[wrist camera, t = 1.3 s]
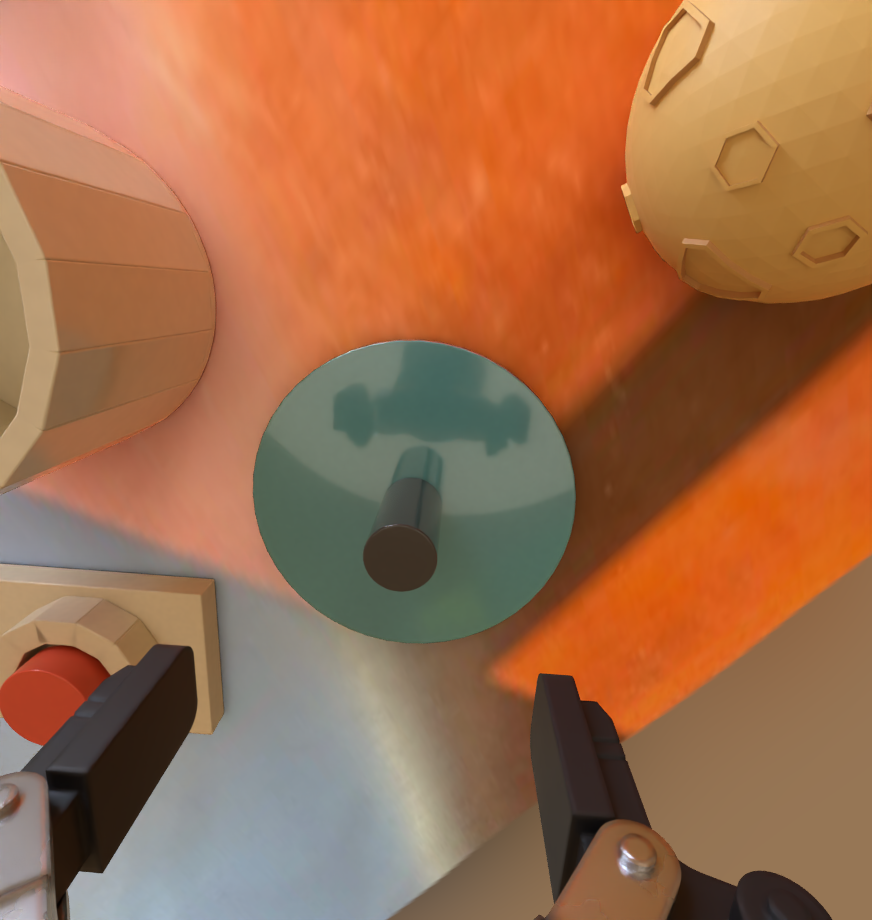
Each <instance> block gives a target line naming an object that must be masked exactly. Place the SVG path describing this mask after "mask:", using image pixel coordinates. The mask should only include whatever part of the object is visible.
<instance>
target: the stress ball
mask: <svg viewBox="0 0 872 920" xmlns="http://www.w3.org/2000/svg"><path fill="white" fill-rule="evenodd" d="M625 163H626V177H627V183H626V184H624V185H622V186H621V189H622V193H623V196H624V199H625V202H626V205H627V208H628V211H629V214H630V217H631V220H632V223H633V226H634V229H635V231H636V233H639V232H641V231H643V232H644V233H645V235H646V237H647V238H648V240H649V241H650V243H651V244H652V246H653V248H654V250H655V251H656V252H657V253H658V255H659V256H660V257H661V258H662V260H663V261H665V262H666V263H668V264H669V265H670V266H671V267H673V268H674V269H675V270H676V271H677V274H678V277H679V279H681V280H682V281H684V282H685V283H687V284H688V285H690V286H691V287H693V288H695V289H696V290H698V291H700V292H703V293H706V294H709V295H712V296H715V297H719V298H726V299H733V300H746V301H753V302H761V303H795V302H803V301H812V300H819V299H823V298H827V297H831V296H835V295H839V294H843V293H846V292H849V291H852V290H855V289H858V288H861V287H864V286H867V285H870V284H872V0H683V2H682V3H681V5H680V6H679V8H678V9H677V11H676V12H675V14H674V15H673V16H672V18H671V19H670V20H669V21H668V23H667V24H666V25H665V26H664V27H663V29H662V32H661V34H660V36H659V39H658V41H657V43H656V44H655V46H654V48H653V50H652V51H651V54H650V56H649V58H648V61H647V63H646V65H645V68H644V70H643V72H642V75H641V77H640V79H639V82H638V86H637V89H636V92H635V95H634V99H633V102H632V107H631V112H630V116H629V121H628V126H627V135H626V148H625Z"/></svg>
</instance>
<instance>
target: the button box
mask: <svg viewBox="0 0 872 920" xmlns="http://www.w3.org/2000/svg"><path fill="white" fill-rule="evenodd" d="M156 644H168V645H181V646H190V647H191V648H192V649H193V652H194V662H195V674H196V686H197V698H198V705H197V712H196V717H195V720H194V723H193V726H192V728H191V730H190V732H189V733H198V734H210V735H211V734H213V732H214V730H215V728H216V727H217V725H218V723H219V721H220V720H221V718H222V716H223V714H224V707H223V693H222V679H221V665H220V651H219V638H218V624H217V610H216V596H215V582H214V579H203V578H190V577H176V576H162V575H148V574H135V573H121V572H107V571H94V570H80V569H66V568H53V567H39V566H25V565H12V564H0V689H1V686H2V685H3V683H4V682H5V680H6V679H7V678H8V677H10V676H11V675H12V674H13V673H14V672H15V671H17V670H18V669H19V668H20V667H21V666H23V665H24V664H25V663H26V662H27V661H28V660H30V659H31V658H32V657H33V656H34V655H35V654H37V653H38V652H39V651H41V650H43V649H45V648H48V647H51V646H57V645H67V646H73V647H76V648H78V649H80V650H82V651H84V652H86V653H87V654H89V655H91V656H93V657H95V658H97V659H98V660H99V661H100V662H101V663H102V665H103V666H104V667H105V669H106V670H107V671H108V672H109V674H110V675H113V674H114V673H116V672H117V671H119V670H121V669H122V668H124V667H125V666H127V665H134V666H136V665H137V664H138V663H139V661H140V660H141V659H142V658H143V657H144V656H145V655H146V653H147V652H148V651H149V650H150V649H151V648H152V647H153V646H154V645H156ZM0 718H4V717H3V716H2V713H1V711H0Z"/></svg>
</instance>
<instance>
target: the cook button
mask: <svg viewBox="0 0 872 920" xmlns="http://www.w3.org/2000/svg"><path fill="white" fill-rule="evenodd" d="M110 676H111V675H110V674H109V672H108V671H107V670H106V669H105V667H104V666H103V665H102V663H101V662H100V661H99V660H98V659H97V658H95V657H93V656H91V655H89V654H87V653H86V652H84V651H82V650H80V649H78V648H76V647H73V646H67V645H57V646H51V647H48V648H45V649H43V650H41V651H39V652H38V653H37V654H35V655H34V656H33V657H32V658H31V659H30V660H28V661H27V662H26V663H25V664H24V665H23V666H21V667H20V668H19V669H18V670H17V671H15V672H14V673H13V674H12V675H11V676H10V677H8V678H7V679H6V680H5V682H4V683H3V685H2V686H1V689H0V711H1V713H2V716H3V717H4V719H5V721H6V722H7V723H8V725H9V726H10V727H11V728H12V729H13V730H14V731H15V732H17V733H18V734H19V735H20V736H22V737H23V738H25V739H27V740H29V741H31V742H33V743H36V744H39V745H43V746H44V745H45V744H46V743H47V742H48V741H49V740H50V739H51V737H52V736H53V735H54V734H55V733H56V732H57V731H58V730H59V729H60V728H61V727H62V725H63V724H64V723H65V722H66V721H67V720H68V719H69V718H70V717H71V716H74V714H75V711H76V710H77V709H78V708H79V707H80V706H81V705H82V704H83V703H84V702H85V701H87V700H88V697H89V696H90V695H91V694H92V693H93V692H94V691H95V690H96V688H97V687H98V686H99V685H100V684H101V683H102V682H103V681H104V680H105V679H106V678H108V677H110Z"/></svg>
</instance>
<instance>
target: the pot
mask: <svg viewBox="0 0 872 920" xmlns="http://www.w3.org/2000/svg"><path fill="white" fill-rule="evenodd" d="M215 323H216V300H215V291H214V283H213V278H212V273H211V269H210V265H209V261H208V258H207V255H206V252H205V250H204V247H203V244H202V241H201V239H200V236H199V234H198V232H197V230H196V228H195V226H194V224H193V222H192V220H191V219H190V217H189V215H188V213H187V212H186V210H185V209H184V207H183V206H182V204H181V203H180V201H179V200H178V198H177V197H176V195H175V194H174V193H173V192H172V190H171V189H170V188H169V187H168V186H167V184H166V183H165V182H164V181H163V180H162V178H161V177H160V176H159V175H158V174H157V173H155V172H154V171H153V170H152V169H151V168H150V167H149V166H148V165H147V164H146V163H145V162H144V161H143V160H142V159H140V158H139V157H138V156H136V155H135V154H134V153H132V152H131V151H130V150H128V149H127V148H126V147H124V146H123V145H121V144H119V143H117V142H116V141H114V140H112V139H111V138H109V137H107V136H105V135H104V134H102V133H101V132H99V131H98V130H96V129H95V128H93V127H92V126H90V125H88V124H85V123H83V122H81V121H79V120H76V119H74V118H72V117H70V116H67V115H65V114H63V113H61V112H58V111H56V110H54V109H52V108H50V107H47V106H45V105H43V104H41V103H38V102H36V101H34V100H32V99H29V98H27V97H25V96H23V95H20V94H18V93H16V92H14V91H11V90H9V89H7V88H5V87H3V86H0V495H2V494H4V493H7V492H9V491H11V490H13V489H16V488H18V487H20V486H23V485H25V484H27V483H29V482H32V481H34V480H36V479H38V478H41V477H43V476H45V475H48V474H50V473H52V472H54V471H57V470H59V469H61V468H63V467H66V466H68V465H70V464H72V463H75V462H77V461H79V460H82V459H84V458H86V457H88V456H91V455H93V454H95V453H97V452H100V451H102V450H104V449H107V448H109V447H111V446H113V445H116V444H118V443H120V442H122V441H125V440H127V439H129V438H131V437H133V436H134V435H136V434H138V433H140V432H142V431H144V430H146V429H148V428H150V427H152V426H154V425H156V424H157V423H159V422H161V421H162V420H164V419H166V418H167V417H168V416H169V415H170V414H171V413H172V412H174V411H175V410H176V409H177V408H178V407H179V406H180V405H181V404H182V403H183V402H184V401H185V399H186V398H187V397H188V396H189V395H190V393H191V392H192V391H193V389H194V387H195V386H196V384H197V382H198V381H199V379H200V378H201V375H202V373H203V371H204V368H205V366H206V364H207V361H208V358H209V355H210V351H211V347H212V344H213V338H214V330H215Z"/></svg>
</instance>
